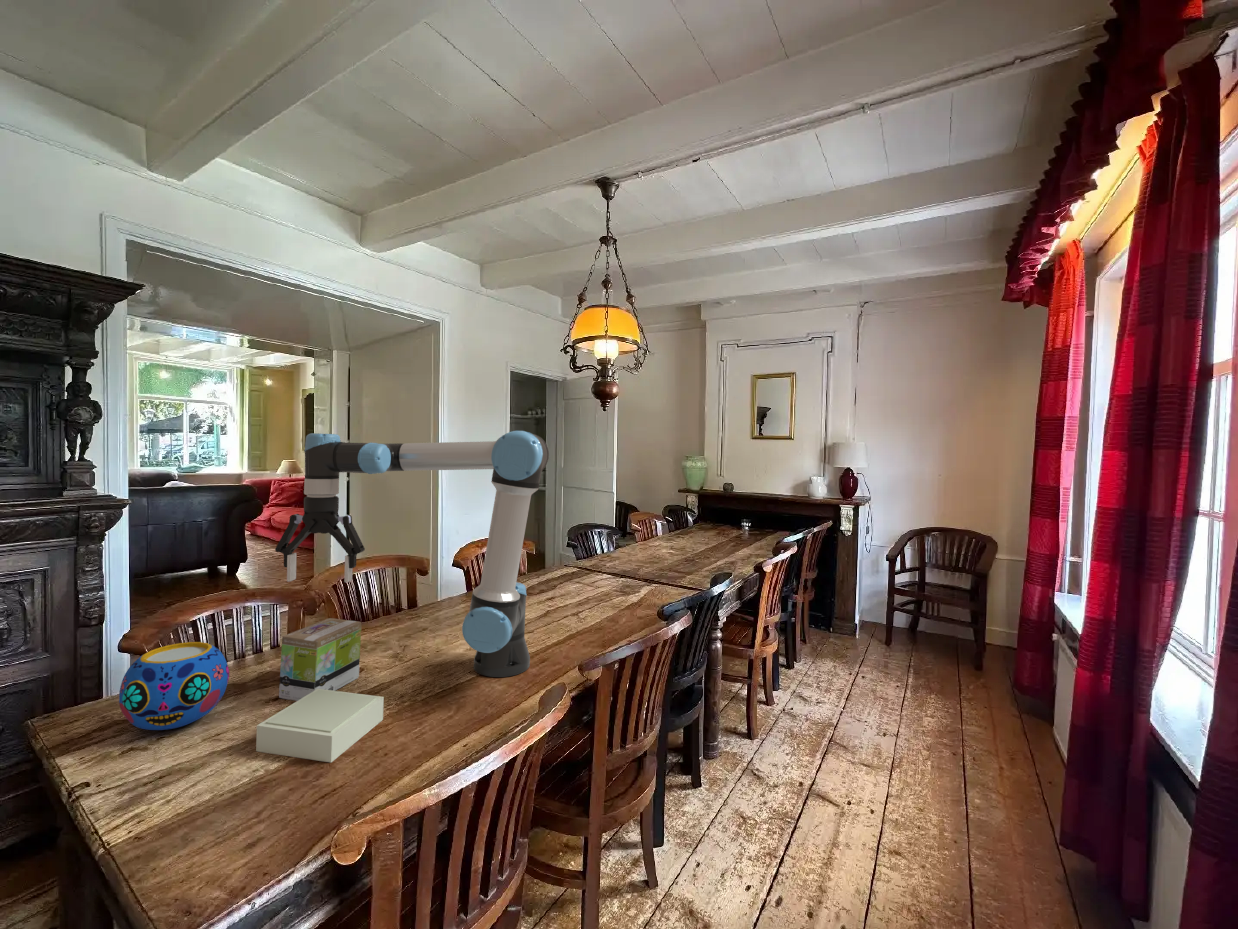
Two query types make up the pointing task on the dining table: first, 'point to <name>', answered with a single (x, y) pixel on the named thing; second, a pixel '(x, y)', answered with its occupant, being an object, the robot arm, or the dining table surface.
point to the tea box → (319, 658)
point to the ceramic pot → (173, 685)
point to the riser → (320, 725)
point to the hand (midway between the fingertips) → (320, 580)
